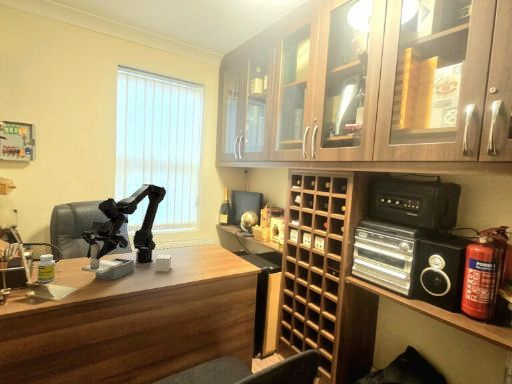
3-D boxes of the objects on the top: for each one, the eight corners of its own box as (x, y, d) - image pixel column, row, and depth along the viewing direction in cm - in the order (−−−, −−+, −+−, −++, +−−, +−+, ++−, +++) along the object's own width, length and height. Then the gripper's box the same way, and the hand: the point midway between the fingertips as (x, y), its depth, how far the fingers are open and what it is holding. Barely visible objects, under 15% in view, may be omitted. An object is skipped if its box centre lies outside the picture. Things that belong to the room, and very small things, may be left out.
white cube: (155, 271, 126) (155, 258, 126) (157, 267, 132) (158, 254, 132) (168, 271, 127) (169, 258, 126) (170, 267, 133) (171, 254, 132)
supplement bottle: (35, 283, 106) (35, 258, 105) (39, 278, 111) (40, 254, 110) (52, 281, 108) (53, 257, 107) (56, 277, 113) (56, 253, 112)
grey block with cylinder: (105, 261, 119) (105, 238, 119) (123, 264, 117) (124, 240, 117) (81, 270, 107) (82, 245, 107) (101, 273, 105) (102, 247, 105)
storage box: (116, 268, 126) (116, 257, 126) (133, 271, 124) (133, 260, 124) (95, 277, 114) (95, 265, 114) (114, 280, 113) (114, 268, 112)
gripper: (84, 211, 112) (59, 244, 102) (124, 215, 108) (102, 250, 98) (98, 227, 121) (76, 259, 110) (136, 231, 117) (117, 265, 106)
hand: (92, 258), depth 106 cm, fingers open, 4 cm apart
